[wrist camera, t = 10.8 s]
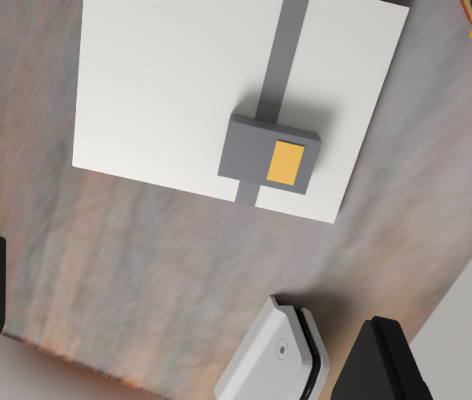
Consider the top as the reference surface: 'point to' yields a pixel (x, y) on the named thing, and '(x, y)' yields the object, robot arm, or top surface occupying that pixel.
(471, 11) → the hamburger
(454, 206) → the top surface
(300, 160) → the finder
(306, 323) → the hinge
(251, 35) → the white rectangular board
